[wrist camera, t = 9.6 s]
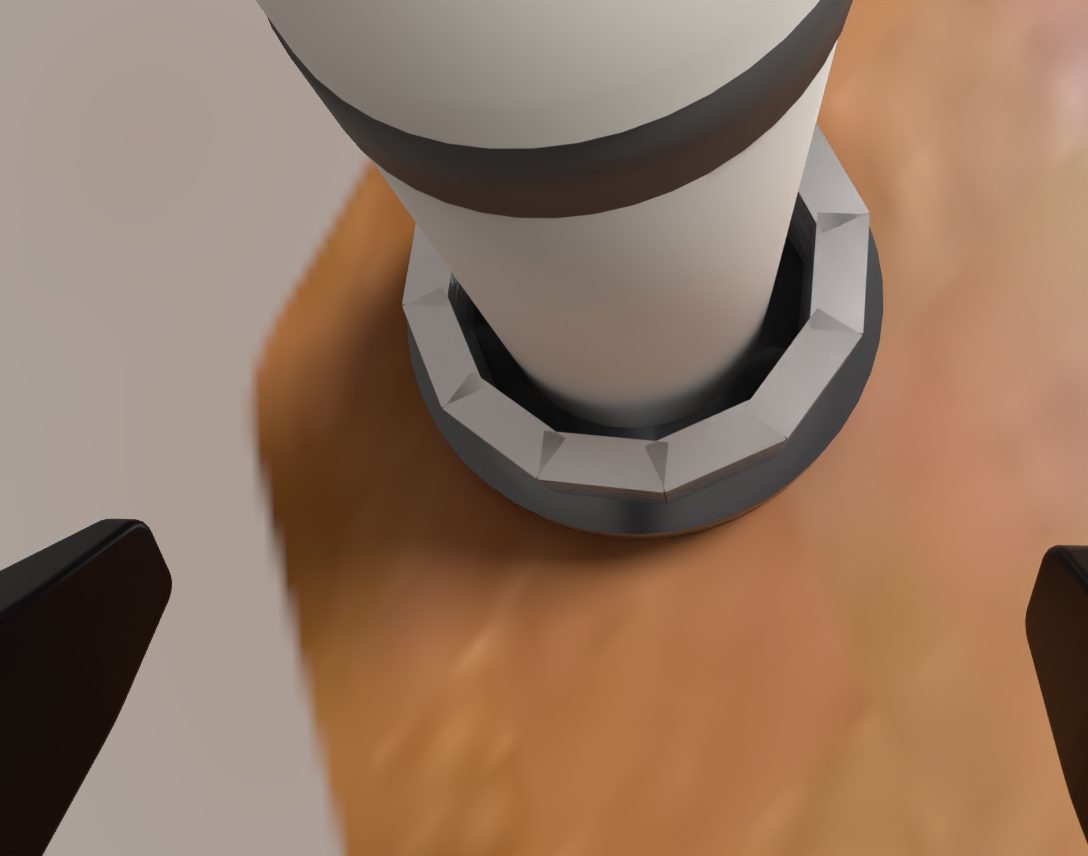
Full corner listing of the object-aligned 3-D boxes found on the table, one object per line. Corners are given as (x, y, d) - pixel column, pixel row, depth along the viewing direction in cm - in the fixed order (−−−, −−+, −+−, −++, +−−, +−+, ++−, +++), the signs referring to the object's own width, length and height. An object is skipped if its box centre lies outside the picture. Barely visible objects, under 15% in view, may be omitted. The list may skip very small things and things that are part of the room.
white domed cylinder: (826, 296, 18) (1081, -280, 6) (629, 485, 18) (509, 262, 6) (635, 135, 19) (555, -555, 8) (453, 306, 19) (99, -139, 8)
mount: (957, 423, 18) (1018, 382, 15) (518, 612, 19) (481, 614, 16) (742, 53, 21) (753, -51, 18) (370, 231, 22) (312, 164, 18)
